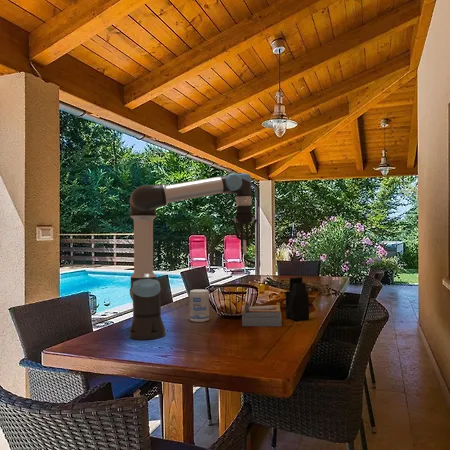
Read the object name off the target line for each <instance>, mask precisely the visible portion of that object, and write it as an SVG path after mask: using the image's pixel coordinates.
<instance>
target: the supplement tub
mask: <svg viewBox="0 0 450 450" xmlns="http://www.w3.org/2000/svg"><path fill="white" fill-rule="evenodd" d="M189 320H190V321H191V322H193V323H202V322H203V323H204V322H207V321H209V320H210V291H209V290H208V289H196V288H195V289H192V290H190V291H189Z"/></svg>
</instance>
